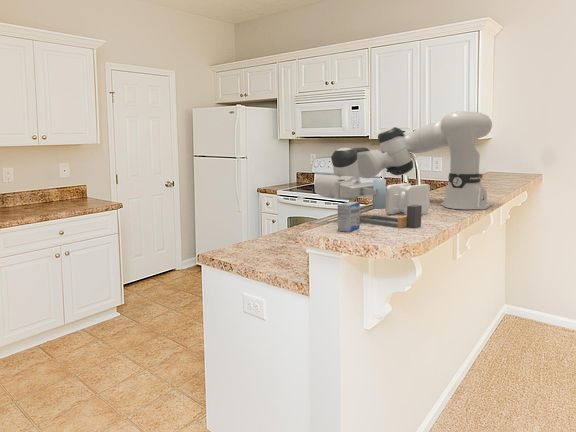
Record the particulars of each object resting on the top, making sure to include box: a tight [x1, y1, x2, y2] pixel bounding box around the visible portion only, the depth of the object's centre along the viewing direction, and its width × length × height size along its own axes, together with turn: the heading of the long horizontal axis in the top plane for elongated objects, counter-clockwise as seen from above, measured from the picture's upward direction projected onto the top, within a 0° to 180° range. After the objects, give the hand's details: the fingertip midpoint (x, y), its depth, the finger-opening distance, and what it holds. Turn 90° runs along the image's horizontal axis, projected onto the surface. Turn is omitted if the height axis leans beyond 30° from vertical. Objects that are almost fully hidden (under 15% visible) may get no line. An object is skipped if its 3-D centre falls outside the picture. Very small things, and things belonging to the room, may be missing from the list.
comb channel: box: [360, 205, 422, 229], centre depth 159 cm, size 10×20×7 cm, turn 44°
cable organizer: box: [384, 182, 431, 216], centre depth 177 cm, size 15×11×12 cm
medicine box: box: [337, 201, 361, 233], centre depth 150 cm, size 8×4×9 cm, turn 148°
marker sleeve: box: [372, 178, 387, 210], centre depth 162 cm, size 4×4×10 cm
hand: (381, 191), depth 161 cm, fingers closed on marker sleeve, 4 cm apart
